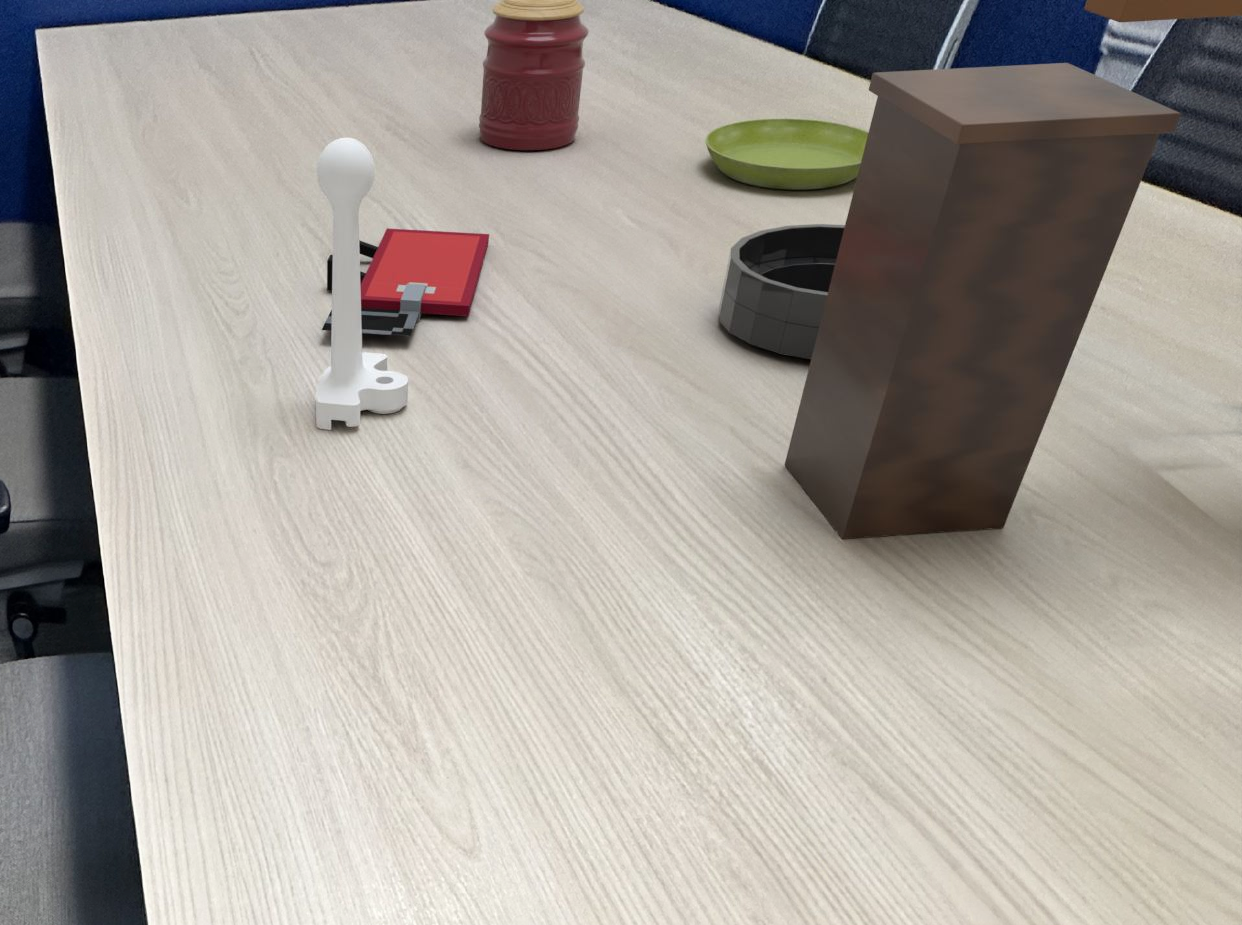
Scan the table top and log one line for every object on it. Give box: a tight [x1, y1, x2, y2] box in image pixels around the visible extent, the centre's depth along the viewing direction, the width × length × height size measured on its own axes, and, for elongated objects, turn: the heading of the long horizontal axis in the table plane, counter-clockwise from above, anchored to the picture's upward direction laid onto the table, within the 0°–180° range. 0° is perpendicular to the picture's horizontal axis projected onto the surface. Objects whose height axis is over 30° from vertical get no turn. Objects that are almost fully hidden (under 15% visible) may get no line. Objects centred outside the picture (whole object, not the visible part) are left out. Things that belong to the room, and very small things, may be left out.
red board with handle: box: [321, 227, 490, 337], centre depth 127 cm, size 30×3×15 cm
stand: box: [784, 62, 1182, 540], centre depth 86 cm, size 13×13×26 cm
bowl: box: [718, 223, 845, 360], centre depth 117 cm, size 20×20×6 cm
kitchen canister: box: [478, 0, 590, 151], centre depth 160 cm, size 13×13×18 cm
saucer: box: [705, 118, 869, 191], centre depth 152 cm, size 21×21×3 cm
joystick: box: [315, 137, 409, 431], centre depth 102 cm, size 11×8×20 cm
